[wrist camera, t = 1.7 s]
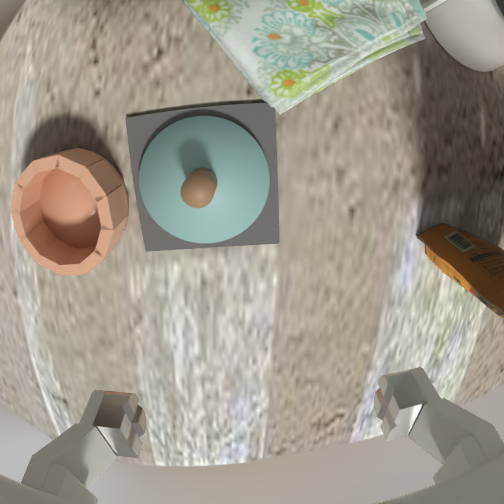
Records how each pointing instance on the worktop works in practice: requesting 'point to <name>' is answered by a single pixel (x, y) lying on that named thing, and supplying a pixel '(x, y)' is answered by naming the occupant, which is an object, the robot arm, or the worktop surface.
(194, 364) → the worktop surface
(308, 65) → the towel
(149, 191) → the lid
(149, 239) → the mat
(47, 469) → the robot arm
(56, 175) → the bowl
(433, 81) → the worktop surface
